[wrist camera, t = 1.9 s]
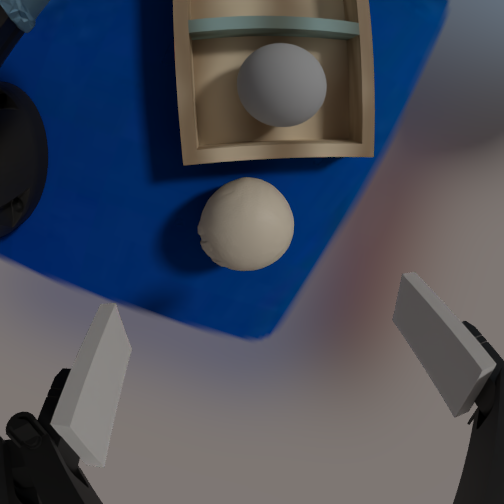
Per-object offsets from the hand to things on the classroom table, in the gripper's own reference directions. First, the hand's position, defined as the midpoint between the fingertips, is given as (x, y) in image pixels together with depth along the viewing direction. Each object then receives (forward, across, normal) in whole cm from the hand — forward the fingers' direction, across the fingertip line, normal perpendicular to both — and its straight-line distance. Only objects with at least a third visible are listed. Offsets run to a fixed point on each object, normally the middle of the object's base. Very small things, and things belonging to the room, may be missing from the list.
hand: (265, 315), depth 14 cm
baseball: (+15, 0, 0) cm, 15 cm away
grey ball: (+14, +3, +10) cm, 17 cm away
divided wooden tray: (+15, +3, +15) cm, 21 cm away
